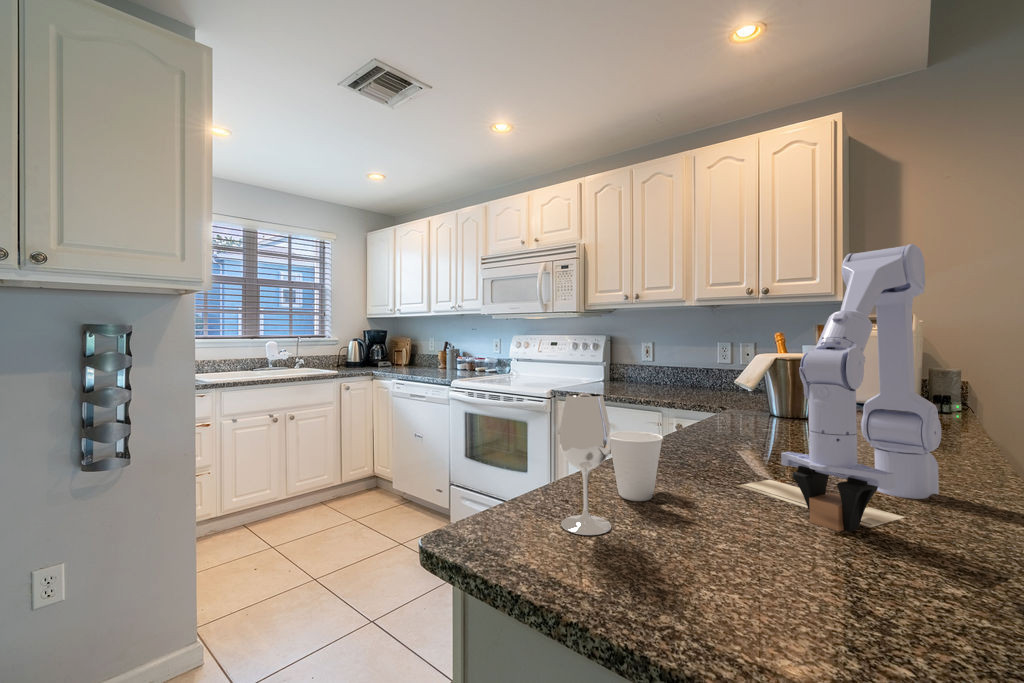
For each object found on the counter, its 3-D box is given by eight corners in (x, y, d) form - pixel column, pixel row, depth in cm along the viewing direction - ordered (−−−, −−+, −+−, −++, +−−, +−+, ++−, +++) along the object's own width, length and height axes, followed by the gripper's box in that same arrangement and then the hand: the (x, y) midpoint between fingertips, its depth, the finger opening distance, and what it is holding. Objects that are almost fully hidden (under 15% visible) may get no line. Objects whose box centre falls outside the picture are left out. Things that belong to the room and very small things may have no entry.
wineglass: (617, 521, 73) (615, 393, 73) (605, 540, 65) (603, 398, 66) (569, 513, 76) (568, 391, 76) (553, 531, 69) (551, 396, 69)
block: (849, 521, 72) (848, 489, 72) (878, 530, 68) (878, 496, 68) (809, 532, 68) (809, 497, 68) (838, 542, 64) (838, 506, 64)
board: (770, 487, 89) (769, 479, 89) (905, 527, 69) (905, 517, 69) (736, 493, 85) (736, 485, 85) (869, 537, 65) (869, 527, 65)
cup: (667, 507, 79) (666, 442, 79) (608, 503, 81) (607, 440, 81) (660, 489, 88) (660, 431, 89) (607, 486, 90) (607, 430, 91)
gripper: (767, 426, 72) (769, 514, 72) (872, 443, 59) (874, 551, 59) (797, 422, 75) (798, 507, 75) (903, 438, 62) (905, 541, 61)
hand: (834, 526), depth 67 cm, fingers closed on block, 4 cm apart
